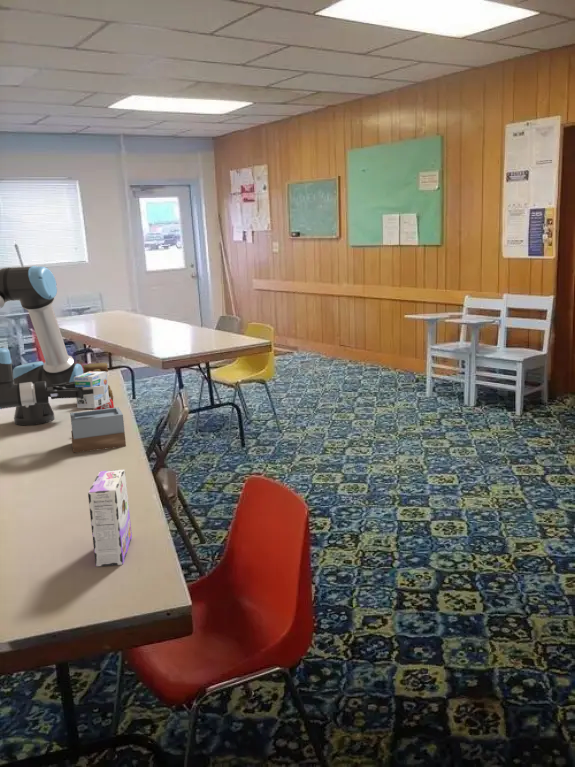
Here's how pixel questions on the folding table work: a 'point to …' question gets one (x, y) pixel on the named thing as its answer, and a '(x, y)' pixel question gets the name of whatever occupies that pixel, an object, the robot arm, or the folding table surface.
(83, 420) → the tower top block
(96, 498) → the candy box
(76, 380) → the light bulb box
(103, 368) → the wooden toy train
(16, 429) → the folding table surface
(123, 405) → the folding table surface
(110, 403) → the soda can
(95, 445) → the tower base block
